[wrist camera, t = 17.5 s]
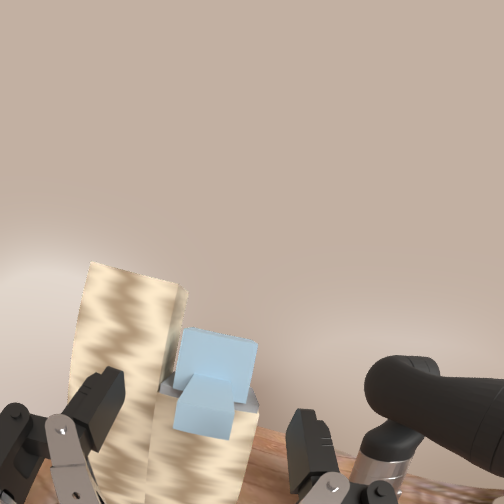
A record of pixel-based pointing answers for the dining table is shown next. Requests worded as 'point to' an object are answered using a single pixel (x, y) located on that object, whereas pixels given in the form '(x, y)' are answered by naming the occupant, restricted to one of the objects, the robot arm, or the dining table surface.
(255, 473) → the dining table surface
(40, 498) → the dining table surface
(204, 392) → the blue handle block
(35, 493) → the dining table surface
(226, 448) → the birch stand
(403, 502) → the dining table surface
